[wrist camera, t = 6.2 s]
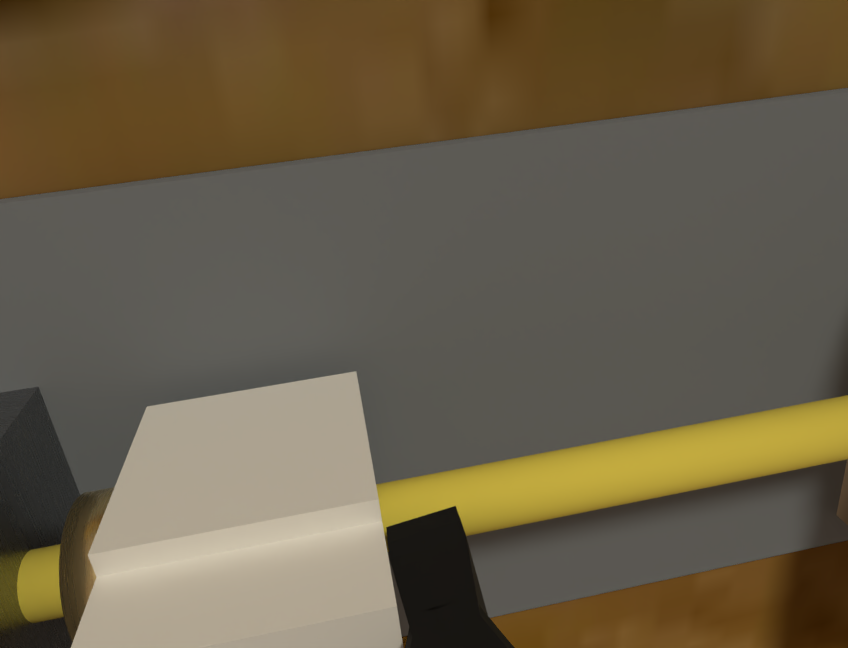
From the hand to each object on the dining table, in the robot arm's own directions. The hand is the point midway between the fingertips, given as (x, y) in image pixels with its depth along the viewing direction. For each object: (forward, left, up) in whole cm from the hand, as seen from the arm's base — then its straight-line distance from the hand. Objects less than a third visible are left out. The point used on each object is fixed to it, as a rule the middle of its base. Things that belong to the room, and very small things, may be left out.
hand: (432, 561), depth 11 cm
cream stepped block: (+3, 0, -4) cm, 5 cm away
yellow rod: (-2, 0, -2) cm, 3 cm away
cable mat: (-2, 0, -4) cm, 5 cm away
